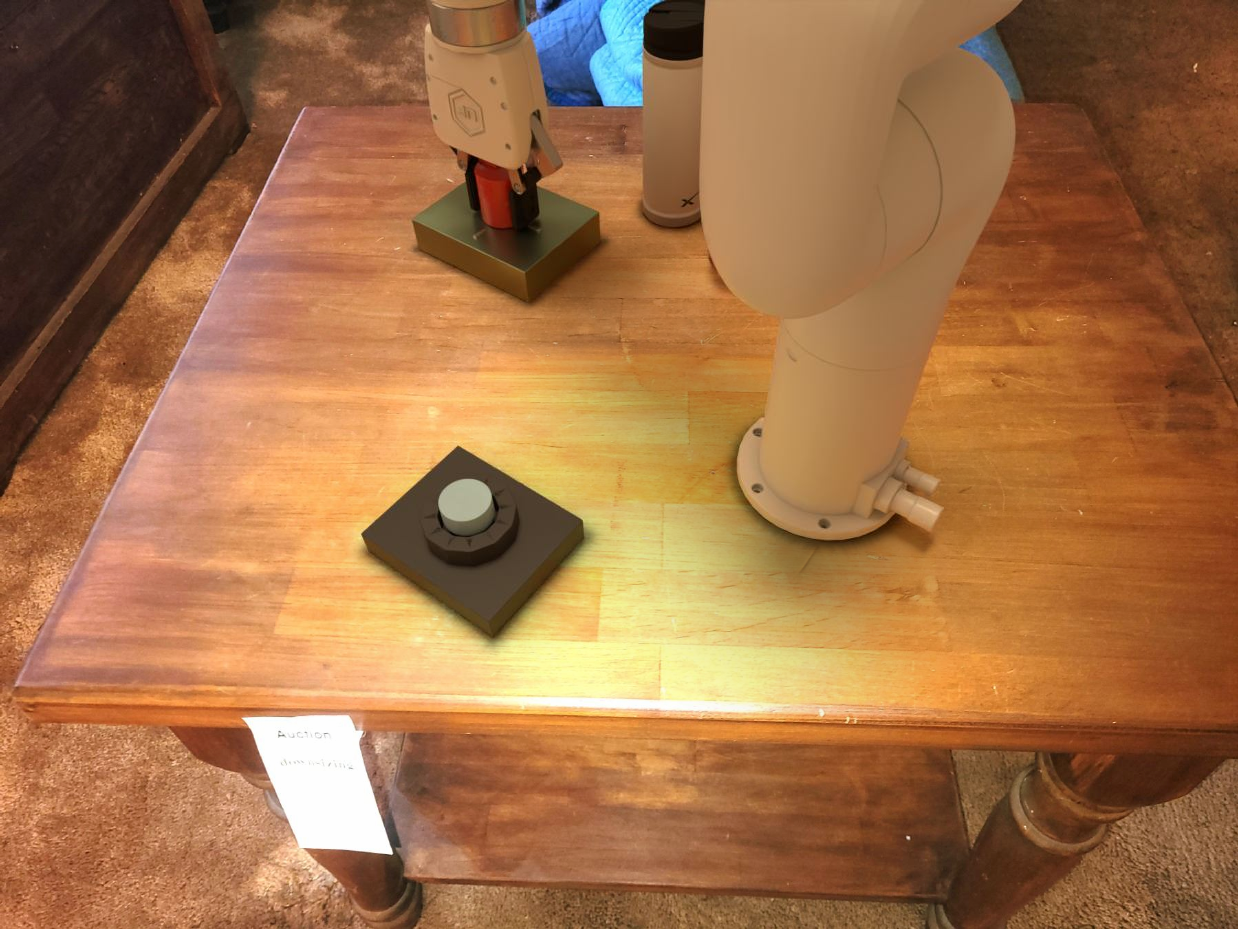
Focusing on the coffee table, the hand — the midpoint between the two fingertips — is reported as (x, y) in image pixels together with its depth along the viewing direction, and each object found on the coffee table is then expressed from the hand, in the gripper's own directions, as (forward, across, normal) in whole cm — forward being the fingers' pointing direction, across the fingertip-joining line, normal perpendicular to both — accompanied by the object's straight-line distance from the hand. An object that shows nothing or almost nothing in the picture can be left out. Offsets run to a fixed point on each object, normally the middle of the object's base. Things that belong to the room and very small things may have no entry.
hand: (505, 210), depth 82 cm
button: (0, +21, -28) cm, 35 cm away
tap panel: (+4, 0, 0) cm, 4 cm away
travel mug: (+4, +10, +14) cm, 18 cm away
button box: (+4, +21, -28) cm, 35 cm away
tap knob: (0, 0, 0) cm, 0 cm away
